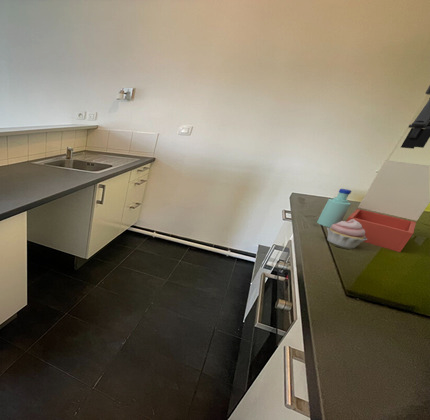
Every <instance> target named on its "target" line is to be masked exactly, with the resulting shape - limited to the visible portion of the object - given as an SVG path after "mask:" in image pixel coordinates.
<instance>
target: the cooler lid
mask: <svg viewBox="0 0 430 420" xmlns="http://www.w3.org/2000/svg"><path fill="white" fill-rule="evenodd" d="M429 205H430V165H427V164H420V163H413V162H405V161H404V162H403V161H395V160H388V159H385V160H384V162H383V163H382V165H381V166H380V169H379V170H378V172H377V174H376V175H375V177H374V179H373V180H372V182H371V184H370V185H369V187H368V189H367V191H366V193H365V194H364V195H363V198H362V200H360V203H359V205H358V206H357V209H361V210H366V211H370V212H374V213H379V214H383V215H387V216H392V217H396V218H401V219H405V220H409V221H414V222H418V220H419V219H420V218H421V216H422V214H423V213H424V212H425V210H426V208H427V207H428V206H429Z"/></svg>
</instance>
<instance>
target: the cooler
mask: <svg viewBox="0 0 430 420" xmlns="http://www.w3.org/2000/svg"><path fill="white" fill-rule="evenodd" d="M351 219H354V220H356V221H357V222H359V223H360V224H361V225H362V228H363V229H364V230H365V235H364V236H365V238H367V240H365V241H363V242H362V243H367V244H370V245H374V246H376V247H379V248H384V249H387V250H391V251H394V252H397V253H401V252H402V251H403V249H404V248H405V246H406V245H407V244H408V242H409V240H410V239H411V238H412V236H413V235H414V232H415V228H416V225H417V221H415V220H410V219H406V218H401V217H397V216H393V215H388V214H384V213H379V212H375V211H371V210H366V209H362V208H356V209H355V210H354V211H353V212H352V213H351V214H350V215H348V217H347V219H346V221H350V220H351Z"/></svg>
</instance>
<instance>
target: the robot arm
mask: <svg viewBox="0 0 430 420" xmlns="http://www.w3.org/2000/svg"><path fill="white" fill-rule="evenodd" d="M424 93H425V95H428V96H430V85H428V88H427V89H426V91H425V92H424ZM409 128H410V130H409V132H408V133H407V135H406V137H405V138H404V140H403V142H402V143H401V146H400V149H401V148H402V149H413V150H414V149H415V148H422V149H423V148H425V146H426V145H427V143H428V141H429V139H430V97H429V98H428V100H427V102H426V104H425V105H424V107H423V108H422V109H421V110H420V112H419V113H418V115H417V116H416V118H414V121H413V122H412V123H411V124H409V125H408V129H409Z"/></svg>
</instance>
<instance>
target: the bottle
mask: <svg viewBox="0 0 430 420" xmlns="http://www.w3.org/2000/svg"><path fill="white" fill-rule="evenodd" d="M351 193H352V190H350V189H347V188H340V189H339V190H338V193H337V196H333V198H328V199H327V201H326V203H325V206H324V207H323V208H322V211H321V213H320V215H319V217H318V219H317V221H316V223H317V224H319V225H321V226H323V227H326V228H330V227H331V226H332V225H333V224H336V223H338V222H340V221H343V219H344V218H345V216H346V214H347V212H348V210H349V208H350V207H351V205H352V203H351V202H349V200H348V197H349V196H350V195H351Z"/></svg>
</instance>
